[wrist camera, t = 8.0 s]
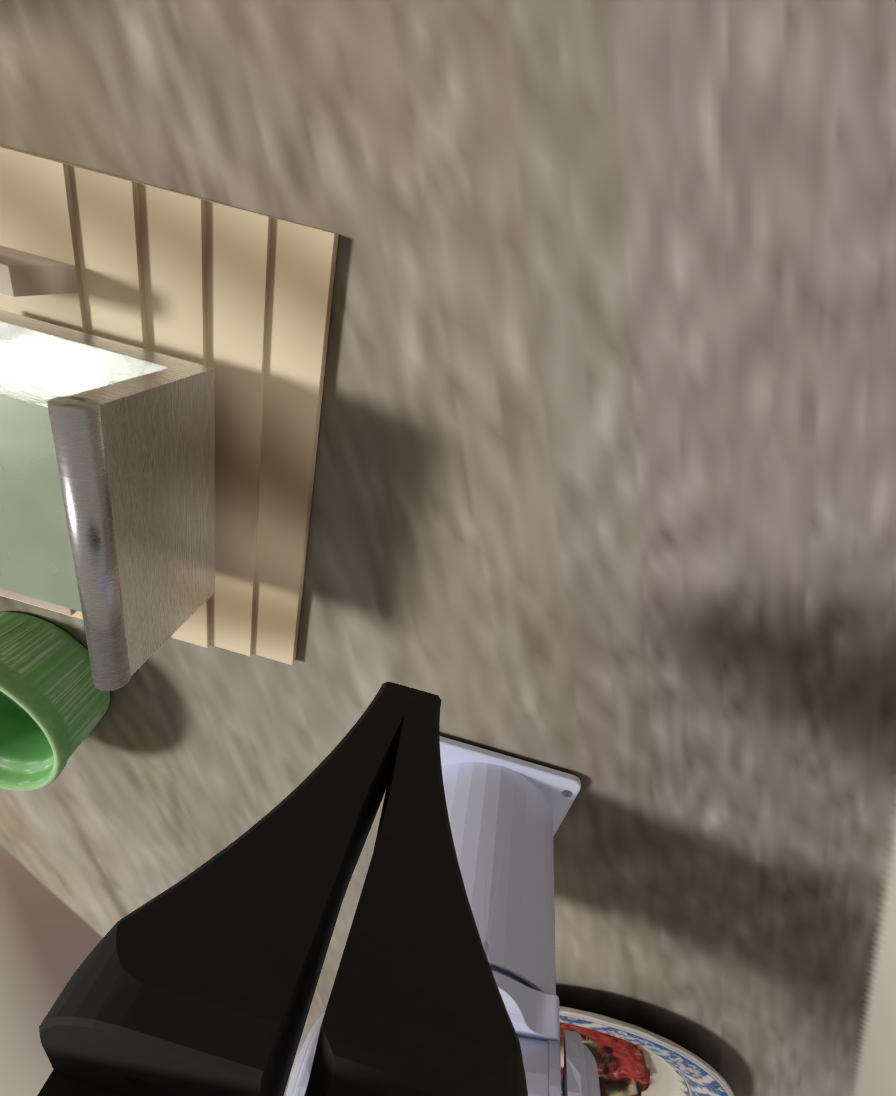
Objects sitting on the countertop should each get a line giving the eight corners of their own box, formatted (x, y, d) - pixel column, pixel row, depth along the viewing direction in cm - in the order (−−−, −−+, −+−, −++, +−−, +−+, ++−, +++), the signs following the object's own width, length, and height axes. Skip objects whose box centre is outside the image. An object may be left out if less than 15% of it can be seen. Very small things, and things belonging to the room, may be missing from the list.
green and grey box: (220, 589, 21) (116, 695, 16) (34, 536, 22) (-127, 623, 16) (221, 367, 17) (77, 414, 12) (-14, 303, 17) (-255, 321, 12)
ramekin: (53, 584, 26) (-33, 641, 22) (153, 717, 29) (95, 785, 25) (-68, 615, 28) (-164, 671, 24) (38, 734, 32) (-30, 798, 28)
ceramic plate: (341, 970, 41) (327, 1018, 38) (690, 963, 33) (702, 1023, 30) (463, 1110, 51) (459, 1156, 48) (754, 1131, 43) (768, 1187, 40)
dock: (295, 659, 25) (259, 717, 22) (7, 576, 26) (-70, 620, 22) (338, 234, 16) (287, 227, 13) (-106, 117, 17) (-261, 82, 13)
